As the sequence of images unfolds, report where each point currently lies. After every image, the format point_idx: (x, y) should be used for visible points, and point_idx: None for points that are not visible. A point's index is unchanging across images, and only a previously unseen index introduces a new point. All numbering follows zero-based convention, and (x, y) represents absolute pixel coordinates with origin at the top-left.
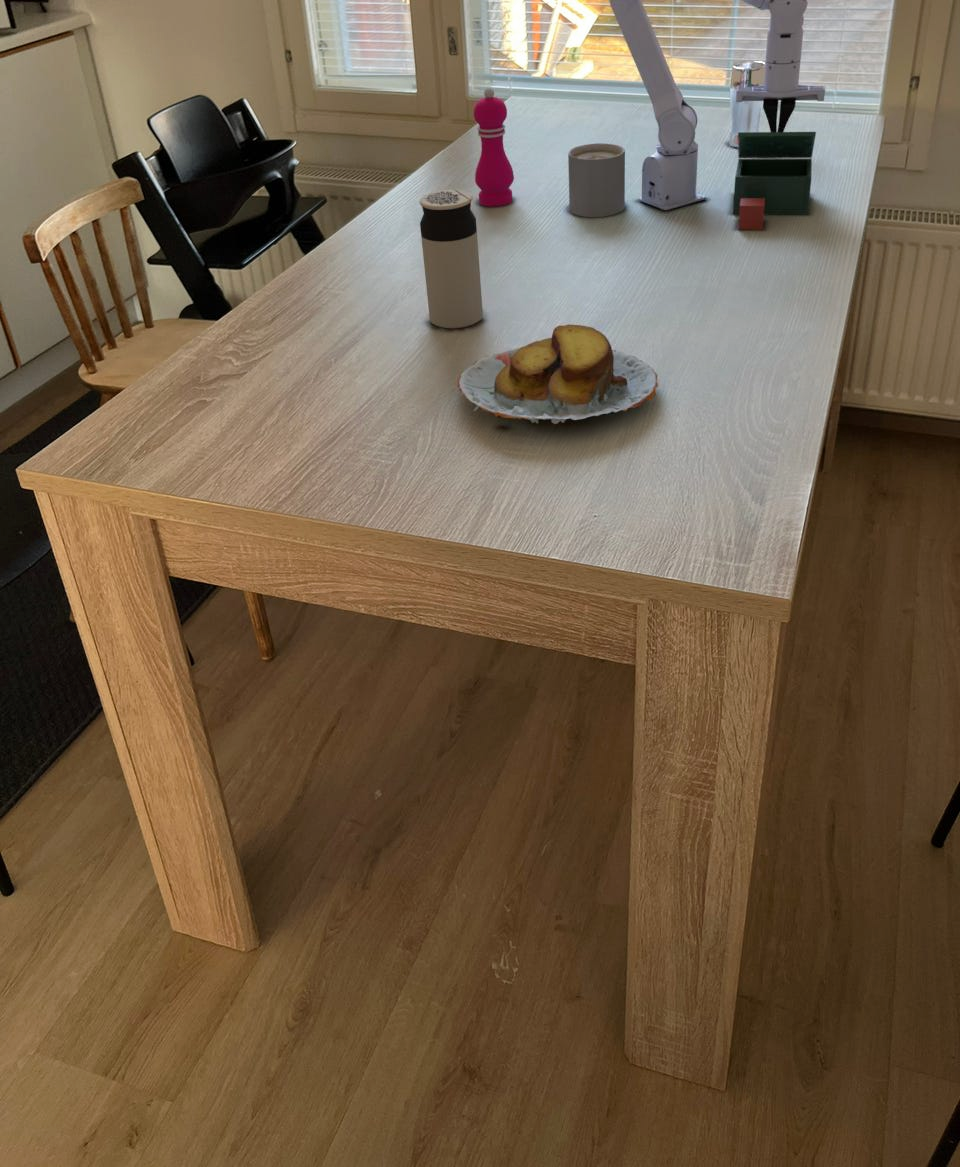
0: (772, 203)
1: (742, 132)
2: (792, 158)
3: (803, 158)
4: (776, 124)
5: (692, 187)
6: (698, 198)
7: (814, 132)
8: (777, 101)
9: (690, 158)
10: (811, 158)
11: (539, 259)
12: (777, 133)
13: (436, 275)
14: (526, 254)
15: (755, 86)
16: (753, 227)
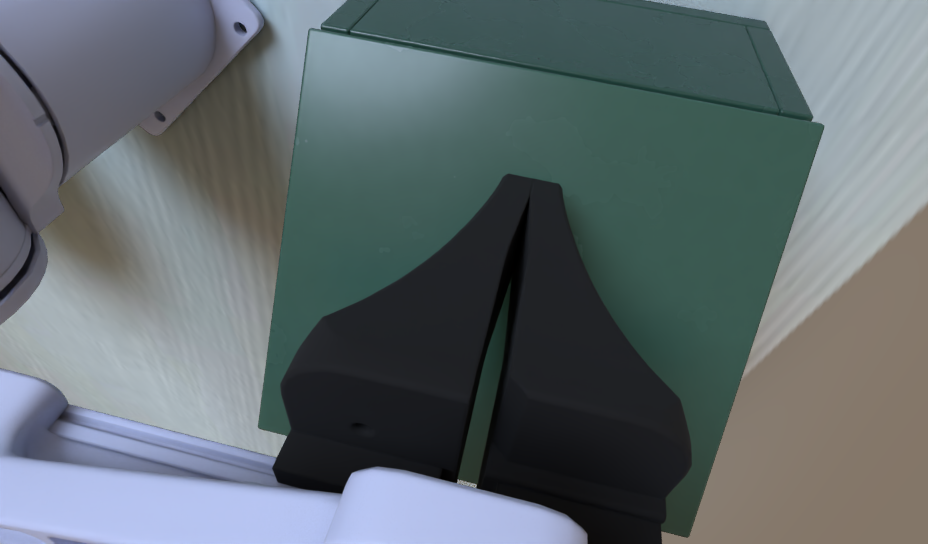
0: None
1: (279, 433)
2: (677, 94)
3: (755, 107)
4: (501, 283)
5: (182, 80)
6: (234, 47)
7: (679, 534)
8: (445, 479)
9: (80, 168)
10: (812, 118)
11: (51, 340)
12: (470, 478)
13: None
14: (9, 317)
15: (59, 534)
16: None
